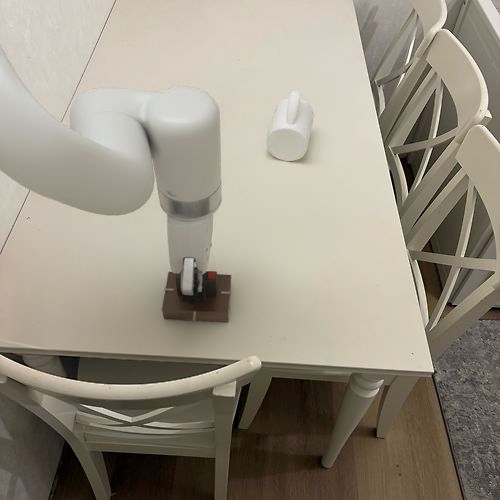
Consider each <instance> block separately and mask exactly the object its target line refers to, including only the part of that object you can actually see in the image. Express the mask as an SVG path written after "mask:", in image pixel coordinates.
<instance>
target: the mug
mask: <svg viewBox="0 0 500 500" xmlns="http://www.w3.org/2000/svg"><path fill="white" fill-rule="evenodd" d="M314 117H315V115H314V110H313V108H312V106H311V105H310V104H309V102H308V101H306V100H304V99H302V93H301V91H300V90H299V89H298V90H297V89H293V90H291V92H290V94H289V96H288V97H286V98H284V99H282V100H280V101H279V102H278V103H277V105H276V106H275V108H274V111H273V115H272V119H271V122H270V126H269V130H268V133H267V136H266V148H267V150H268V152H269V153H270V154H271V155H272V156H273V157H274V158H276V159H278V160H280V161H284V162H293V161H297V160H299V159H301V158H303V157H304V156H305V155H306V153H307V152H308V149H309V145H310V144H309V143H310V138H311V133H312V129H313V123H314Z"/></svg>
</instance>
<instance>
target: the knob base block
mask: <svg viewBox="0 0 500 500" xmlns="http://www.w3.org/2000/svg"><path fill="white" fill-rule="evenodd" d="M175 276H176V273H173V272H172V271H168V272H167V276H166V277H167V278H166V283H165V288H164V294H163V300H162V308H161V311H162V317H163V319H164V320H171V321H172V320H174V321H191V322H208V323H209V322H210V323H229V316H230V305H231V304H230V303H231V288H232V274H224V273H223V274H222V273H221V274H220V273H217V296H216V297H215V296H205V297H206V300H205V303H198V304H190V303H188V302H183V301H182V295H178V294H177V287H176V280H175Z"/></svg>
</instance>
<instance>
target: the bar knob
mask: <svg viewBox="0 0 500 500" xmlns="http://www.w3.org/2000/svg"><path fill="white" fill-rule="evenodd" d="M217 274H218V271H216V270H215V271H214V270H207V271H206V273H204V274H203V279H202V284H205V296H215V297H216V296H217ZM175 280H176V287H177V294H178V295H181V288H180V285H181V272H180V273H179V274H178V273H176V276H175ZM193 282H198V274H194V281H193Z"/></svg>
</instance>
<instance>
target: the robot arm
mask: <svg viewBox="0 0 500 500" xmlns="http://www.w3.org/2000/svg"><path fill="white" fill-rule="evenodd" d="M220 113H221V112H220V109H219V105H218V103H217V102H216V100H215V98H214V97H212V95H211V94H209V93H208V92H206V91H205V90H203V89H200V88H197V87H193V86H188V85H181V86H180V85H178V86H171V87H169V88H166V89H163V90H161V91H158V90H143V89H142V90H140V89H129V88H120V87H97V88H96V87H95V88H91V89H89V90H86V91H84V92H82V93H81V94H79V95H78V96H77V97H76V98H75V100H74V101H73V103H72V104H71V108H70V111H69V126H67V124H65V123H64V122H62V121H61V120H60V119H58V118H57V117H56V116H54V115H53V114H52V113H51V112H50V111H48V109H47V108H45V107H44V105H42V104H41V102H39V101H38V99H37V98H36V97H35V96H34V94H32V93H31V91H30V90H29V88H27V86H26V85H25V84H24V82H23V81H22V79H21V78H20V76H19V75H18V73H17V71H16V70H15V68H14V66H13V65H12V62H11V61H10V59H9V57H8V56H7V55H6V52H5V50H4V49H3V47H2V45H1V44H0V171H1V172H2V173H3V174H5V175H6V176H7V177H8V178H9V179H11V180H12V181H14V182H15V183H17V184H18V185H20V186H21V187H23V188H25V189H27V190H29V191H31V192H32V193H35V194H37V195H39V196H42V197H44V198H47V199H49V200H52V201H55V202H58V203H60V204H63V205H66V206H69V207H71V208H74V209H77V210H80V211H83V212H87V213H90V214H96V215H102V216H113V217H115V216H117V217H118V216H125V215H128V214H131V213H134V212H136V211H137V210H140V209H141V208H142V207H143V206H145V204H147V202H148V201H149V199H150V198H151V197H152V194H153V191H154V187H155V182H156V189H157V195H158V200H159V206H160V208H161V209H162V211H163V212H164V213H165V214H166V215H167V216H166V232H167V235H166V236H167V247H168V257H169V258H168V259H169V267H170V272H173V273H178V274H179V273H180V272H181V285H180V288H181V295H182V301H183V302H188V303H190V304H198V303H205V300H206V297H205V284H202V279H203V274H204V273H206V271H208V267H209V262H210V261H209V260H210V254H211V248H212V245H213V244H212V238H213V229H214V214H215V213H216V212H218V209H220V207H221V204H222V201H223V200H222V199H223V191H222V189H223V188H222V148H221V147H222V145H221V143H222V142H221V140H222V139H221V114H220ZM194 274H198V282H193V281H194Z"/></svg>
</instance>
